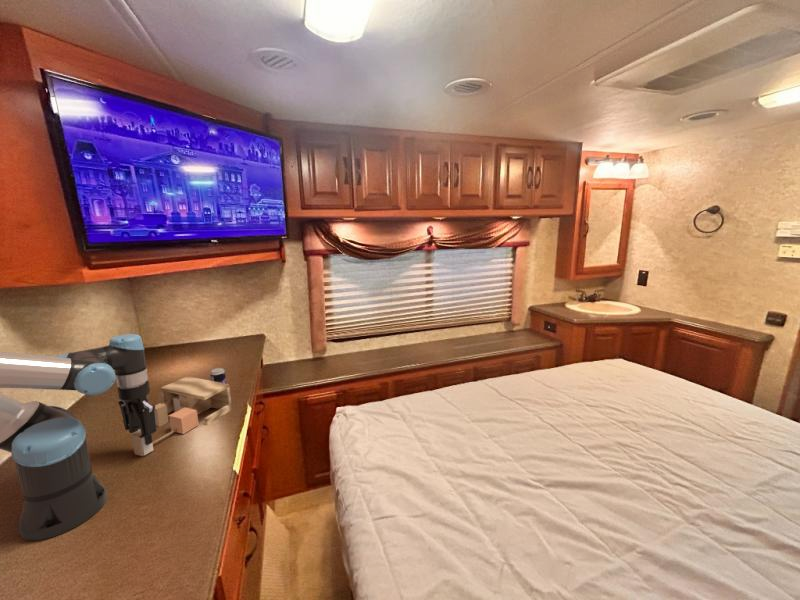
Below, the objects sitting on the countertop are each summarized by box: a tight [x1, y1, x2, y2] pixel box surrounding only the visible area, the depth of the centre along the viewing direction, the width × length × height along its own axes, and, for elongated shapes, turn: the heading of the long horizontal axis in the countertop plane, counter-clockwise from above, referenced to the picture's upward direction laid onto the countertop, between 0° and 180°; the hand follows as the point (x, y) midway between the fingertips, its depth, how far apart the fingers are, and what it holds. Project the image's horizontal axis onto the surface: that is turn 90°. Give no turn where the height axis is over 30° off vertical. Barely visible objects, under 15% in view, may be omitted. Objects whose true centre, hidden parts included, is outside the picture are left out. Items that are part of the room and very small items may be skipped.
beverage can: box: [209, 367, 227, 384], centre depth 140 cm, size 6×6×12 cm
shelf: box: [160, 376, 233, 425], centre depth 126 cm, size 11×23×11 cm, turn 71°
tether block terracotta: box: [130, 407, 199, 457], centre depth 109 cm, size 19×6×7 cm, turn 161°
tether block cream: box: [154, 396, 181, 427], centre depth 124 cm, size 15×6×7 cm, turn 161°
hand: (143, 451), depth 103 cm, fingers closed on tether block terracotta, 3 cm apart
